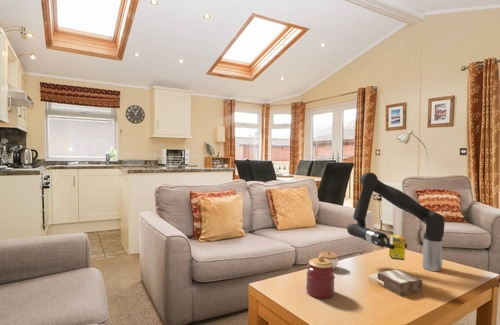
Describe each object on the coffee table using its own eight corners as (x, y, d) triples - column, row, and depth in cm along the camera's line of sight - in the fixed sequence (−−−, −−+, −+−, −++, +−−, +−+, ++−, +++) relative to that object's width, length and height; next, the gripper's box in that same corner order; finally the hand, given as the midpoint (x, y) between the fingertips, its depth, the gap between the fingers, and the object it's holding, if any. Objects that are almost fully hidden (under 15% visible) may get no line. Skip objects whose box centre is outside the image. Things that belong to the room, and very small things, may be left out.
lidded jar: (323, 263, 180) (323, 247, 180) (340, 267, 174) (341, 251, 173) (315, 268, 171) (316, 252, 171) (334, 272, 165) (334, 256, 165)
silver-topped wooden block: (397, 280, 157) (398, 268, 157) (421, 291, 144) (422, 279, 144) (377, 283, 152) (377, 272, 152) (400, 296, 139) (400, 283, 139)
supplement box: (404, 260, 149) (405, 238, 148) (391, 259, 150) (392, 237, 150) (401, 256, 155) (402, 235, 154) (388, 255, 156) (389, 234, 155)
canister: (300, 288, 144) (301, 252, 144) (322, 284, 149) (323, 249, 149) (316, 301, 132) (318, 262, 132) (340, 296, 137) (341, 258, 137)
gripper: (366, 231, 163) (389, 240, 148) (386, 230, 168) (411, 238, 153) (365, 245, 163) (389, 255, 148) (385, 243, 168) (410, 252, 153)
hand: (400, 246), depth 150 cm, fingers closed on supplement box, 8 cm apart
